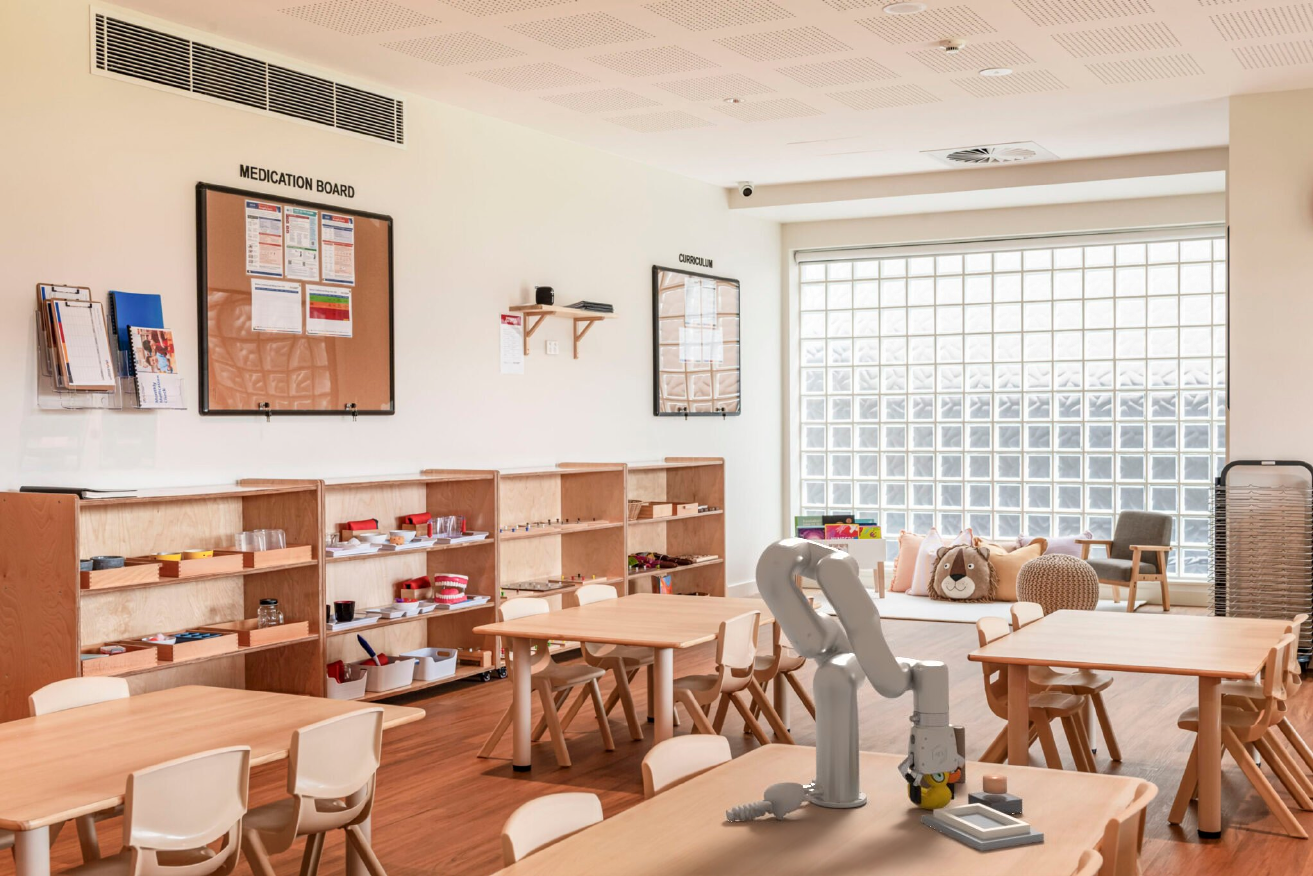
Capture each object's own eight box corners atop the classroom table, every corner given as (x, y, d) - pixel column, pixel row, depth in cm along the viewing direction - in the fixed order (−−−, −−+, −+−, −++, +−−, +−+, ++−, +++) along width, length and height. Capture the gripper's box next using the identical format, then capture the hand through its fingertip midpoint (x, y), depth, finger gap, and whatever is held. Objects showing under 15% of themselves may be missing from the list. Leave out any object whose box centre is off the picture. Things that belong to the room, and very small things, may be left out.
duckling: (962, 808, 268) (961, 761, 268) (960, 815, 263) (959, 767, 263) (909, 803, 271) (908, 758, 271) (906, 810, 266) (905, 763, 266)
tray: (981, 851, 239) (981, 835, 239) (921, 822, 257) (921, 808, 257) (1043, 841, 245) (1043, 825, 245) (980, 814, 263) (980, 799, 263)
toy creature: (717, 798, 266) (805, 778, 270) (725, 833, 264) (814, 812, 268) (728, 793, 254) (819, 772, 258) (736, 830, 252) (829, 808, 256)
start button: (992, 795, 262) (992, 781, 263) (978, 789, 267) (977, 775, 267) (1011, 792, 264) (1011, 778, 264) (997, 787, 269) (996, 773, 269)
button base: (991, 817, 260) (991, 803, 261) (968, 807, 268) (968, 793, 268) (1022, 813, 264) (1022, 798, 264) (998, 803, 271) (998, 789, 271)
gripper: (907, 726, 260) (908, 810, 260) (975, 718, 267) (976, 800, 266) (887, 719, 267) (888, 800, 267) (954, 712, 274) (955, 791, 273)
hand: (932, 800), depth 267 cm, fingers closed on duckling, 7 cm apart
